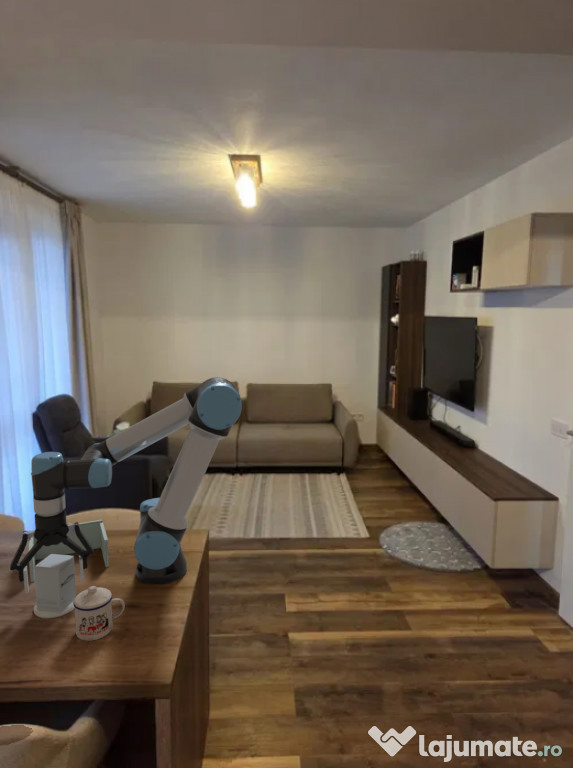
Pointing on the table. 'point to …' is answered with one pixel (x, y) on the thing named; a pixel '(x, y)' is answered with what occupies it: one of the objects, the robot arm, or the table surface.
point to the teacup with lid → (95, 613)
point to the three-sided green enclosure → (90, 530)
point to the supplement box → (55, 583)
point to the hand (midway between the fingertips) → (55, 585)
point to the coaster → (53, 614)
